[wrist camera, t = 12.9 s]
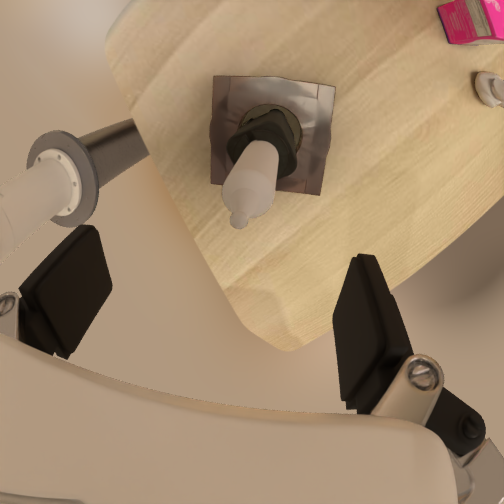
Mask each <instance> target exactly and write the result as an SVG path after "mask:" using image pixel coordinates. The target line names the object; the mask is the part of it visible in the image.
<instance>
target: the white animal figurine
mask: <svg viewBox="0 0 504 504" xmlns="http://www.w3.org/2000/svg"><path fill="white" fill-rule="evenodd" d="M475 88H476V91H477V92H478V95H479V97H480V99H481V100H482V101H483V102H484V104H485V105H487V106H488V107H491V108H494V107H495V106H496V105H499V106H501V107H503V108H504V80H502V79H501V78H500V77H499V76H498V75H497V74H495V73H492V72H479V73H478V74H477V77H476V79H475Z"/></svg>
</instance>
